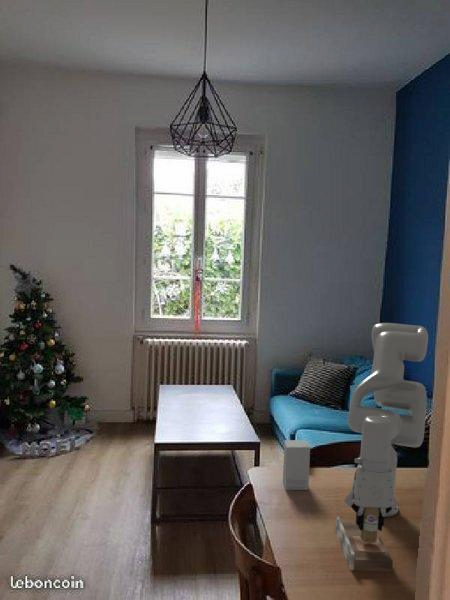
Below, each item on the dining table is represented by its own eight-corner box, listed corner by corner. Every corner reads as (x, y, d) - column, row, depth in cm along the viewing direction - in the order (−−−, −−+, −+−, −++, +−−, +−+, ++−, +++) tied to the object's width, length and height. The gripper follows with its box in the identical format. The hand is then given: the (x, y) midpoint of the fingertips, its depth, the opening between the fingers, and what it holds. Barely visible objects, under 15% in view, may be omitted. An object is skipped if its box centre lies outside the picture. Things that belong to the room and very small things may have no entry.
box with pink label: (335, 531, 151) (336, 516, 151) (372, 532, 151) (373, 518, 151) (350, 570, 133) (351, 553, 133) (391, 571, 134) (393, 555, 133)
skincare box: (305, 482, 182) (307, 439, 180) (308, 491, 175) (311, 447, 173) (281, 481, 181) (284, 439, 179) (284, 490, 175) (286, 446, 173)
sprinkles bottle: (363, 543, 137) (367, 495, 136) (357, 534, 142) (361, 487, 140) (380, 543, 138) (383, 495, 136) (373, 533, 142) (377, 487, 141)
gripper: (346, 468, 134) (341, 534, 136) (411, 470, 134) (405, 536, 136) (339, 456, 141) (335, 519, 143) (401, 458, 141) (395, 521, 143)
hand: (369, 527), depth 140 cm, fingers closed on sprinkles bottle, 4 cm apart
